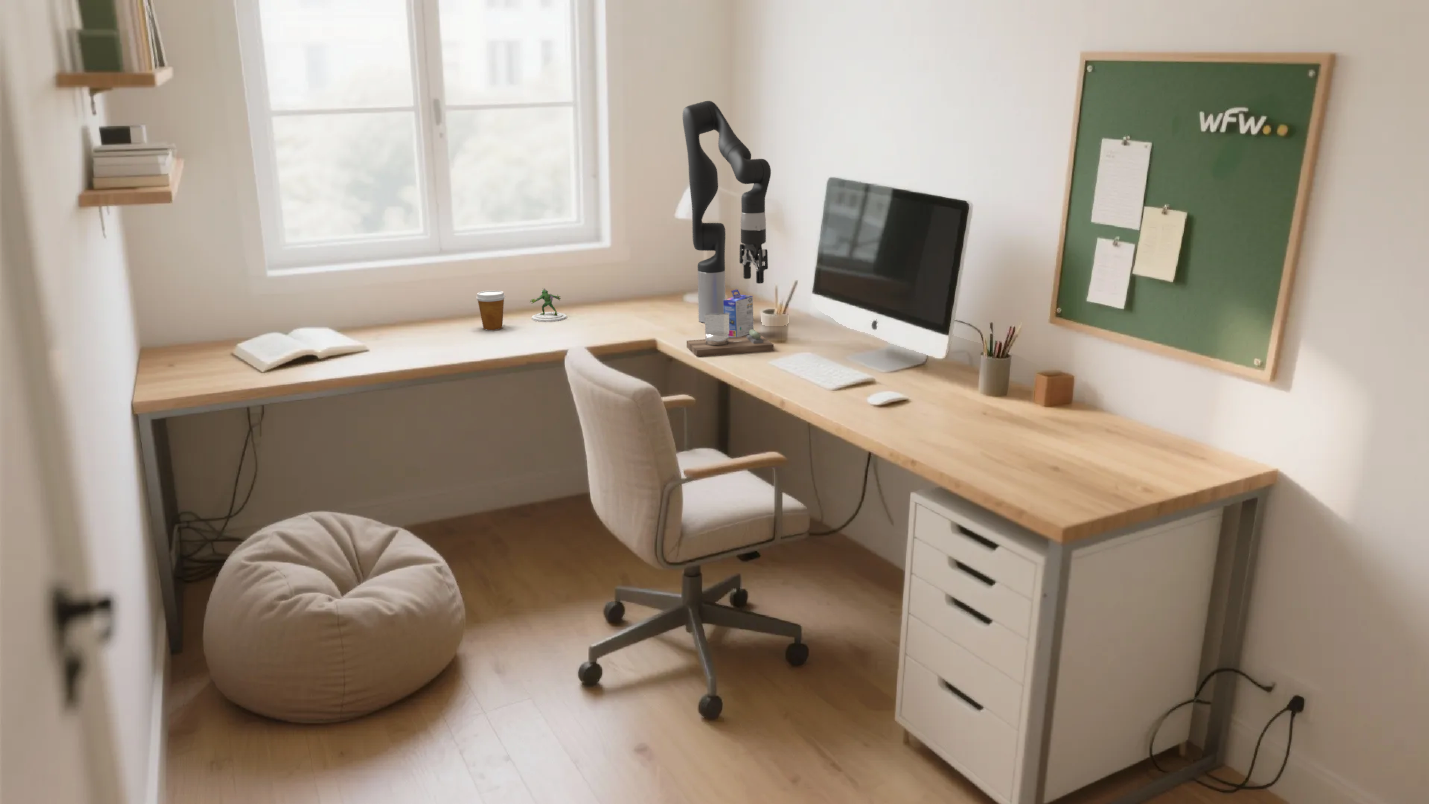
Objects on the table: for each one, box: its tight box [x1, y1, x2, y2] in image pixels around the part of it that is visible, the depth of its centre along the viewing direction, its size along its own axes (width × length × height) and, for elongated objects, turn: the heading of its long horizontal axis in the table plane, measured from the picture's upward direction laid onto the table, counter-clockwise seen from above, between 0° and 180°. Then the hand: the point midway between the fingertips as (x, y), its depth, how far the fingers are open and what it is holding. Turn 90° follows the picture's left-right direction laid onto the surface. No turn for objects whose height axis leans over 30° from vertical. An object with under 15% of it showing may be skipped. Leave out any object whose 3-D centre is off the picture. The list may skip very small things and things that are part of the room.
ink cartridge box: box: [723, 288, 755, 338], centre depth 357 cm, size 10×6×14 cm, turn 144°
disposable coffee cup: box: [475, 290, 506, 331], centre depth 372 cm, size 10×10×12 cm
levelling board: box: [686, 329, 775, 358], centre depth 339 cm, size 13×24×5 cm, turn 105°
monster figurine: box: [529, 287, 567, 323], centre depth 386 cm, size 12×12×10 cm
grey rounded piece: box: [704, 313, 729, 346], centre depth 337 cm, size 7×7×9 cm
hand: (753, 280), depth 337 cm, fingers open, 8 cm apart
